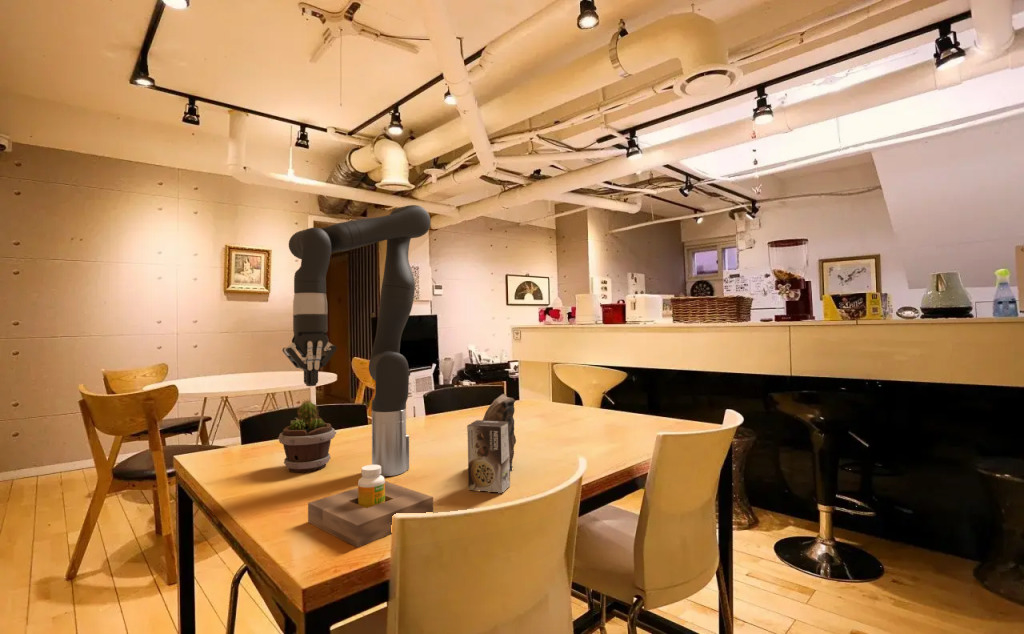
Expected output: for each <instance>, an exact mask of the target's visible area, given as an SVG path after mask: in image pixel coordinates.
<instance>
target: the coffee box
mask: <svg viewBox="0 0 1024 634" xmlns="http://www.w3.org/2000/svg"><path fill="white" fill-rule="evenodd" d="M466 429H467V433H466V434H467V463H468V464H467V469H468V470H467V474H468V476H467V477H468V478H467V481H468V485H467V486H468V487H467V488H468V489H470V490H480V491H489V492H488V493H490V492H498V493H497V494H500V493H502V492H504V491H505V490H506V489H507V488H508V487H509V486H510V487H511V472H510V449H509V422H505V421H484V420H483V419H481V420H480V419H477V420H474V421H473V422H471V423H469V424H467V427H466ZM510 487H509V488H510ZM509 488H508V489H509ZM508 489H507V490H508ZM507 490H506V491H507ZM480 491H479V492H480ZM506 491H505V492H506ZM505 492H504V493H505ZM502 494H503V493H502Z"/></svg>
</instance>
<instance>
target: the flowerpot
mask: <svg viewBox="0 0 1024 634" xmlns="http://www.w3.org/2000/svg"><path fill="white" fill-rule="evenodd" d="M317 408H318V405H316V403H314V402H313V401H311V399H306V400H305V399H302V401H301V403H300V405H298V406H297V409H296V410H297V414H298V415H297V417H295V418H294V420H292V421H291V422H290V425H288V426H286V427H285V428H283V430H282V432H280V433H279V436H278V437H277V439H278V442H279V443H280V444H282V445H283V449H284V453H285V458H284V460H283V464H284V465H285V467H286V468H287V469H288V471H290V472H291V473H307V472H314V471H316V470H317V469H318V470H321V469H323V468H325V467H326V466H327V464H328V463H329V461H330V459H332V458H331V454H330V453H329V451H330V448H331V447H330V446H331V441H332V440H333V439H334V438H335V437H336V434H337V432H336V431H335V428H333V427H332V425H331V423H327V422H324V420H323V419H324V417H323V418H322V417H320V416H319V411H320V410H319V409H317ZM295 419H296V420H295Z"/></svg>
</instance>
